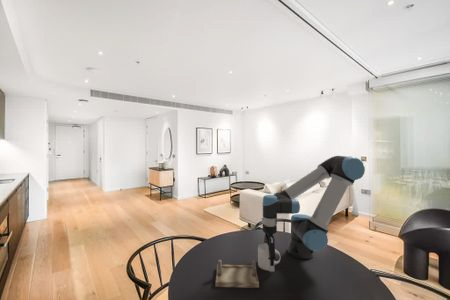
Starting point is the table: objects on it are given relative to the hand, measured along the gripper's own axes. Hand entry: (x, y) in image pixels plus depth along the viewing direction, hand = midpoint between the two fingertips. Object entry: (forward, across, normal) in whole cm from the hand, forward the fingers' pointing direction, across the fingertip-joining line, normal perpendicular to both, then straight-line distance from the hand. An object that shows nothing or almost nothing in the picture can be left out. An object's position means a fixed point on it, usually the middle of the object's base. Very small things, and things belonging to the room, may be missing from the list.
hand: (269, 263), depth 111 cm
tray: (+1, +10, -18) cm, 21 cm away
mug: (+2, 0, 0) cm, 2 cm away
